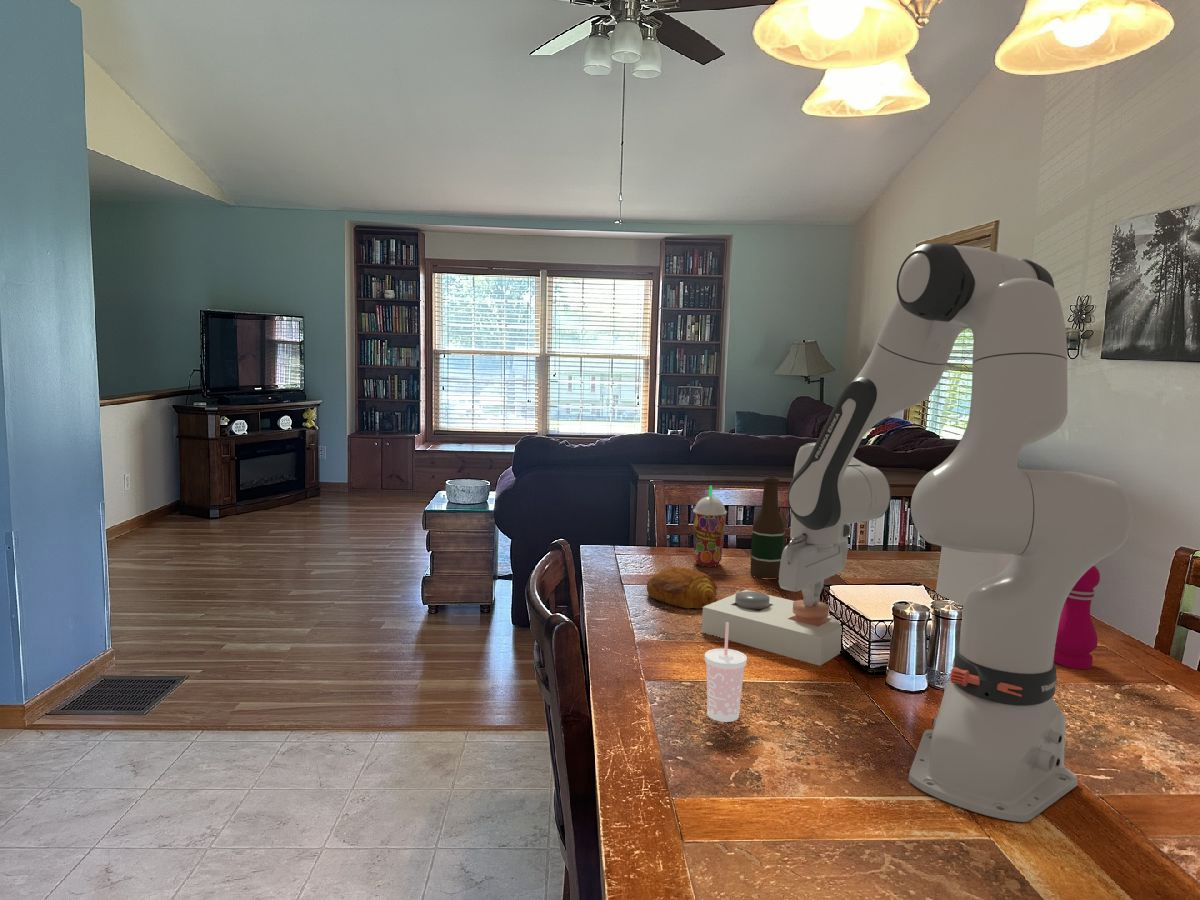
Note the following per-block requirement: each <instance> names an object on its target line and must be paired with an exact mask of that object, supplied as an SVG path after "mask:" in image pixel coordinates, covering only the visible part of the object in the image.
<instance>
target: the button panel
mask: <svg viewBox="0 0 1200 900" xmlns="http://www.w3.org/2000/svg"><path fill="white" fill-rule="evenodd" d="M740 592H755V591H753V590H749V589H744V590H742V591H740ZM737 593H738V592H737ZM737 593H734V594H732V595H729V596H727V597H724V598H722V599H718V600H715V602H714V603H711V604H709V605H706V606H704V607H703V609H702V618H701V619H702V621H701V622H702V623H701V633H702V634H705V633H706V634H705V635H708V636H712V635H714V636H713V637H716V636H717V637H716V638H719V637H720V638H719V639H723V638H724V639H723V640H725V627H726V622H729V633H728V641H730V640H731V642H733V643H738V644H741V645H744V646H748V647H750V648H751V647H752V648H755V649H759V650H762V651H766V652H769V653H773V654H777V655H779V656H783V657H787V658H791V659H794V660H797V661H801V662H805V663H807V664H808V663H809V664H811V665H815V666H819V667H821V666H822V665H824V664H826V663H827V662H829V661H831V660H832V659H833V658H835V657H837V656H838V655H841V653H840V651H841V635H842V626H841V625H840V624H839V623H837V622H836V621H835V620H834V619H833V618H831V616H828V617H826V618H824V624H822V625H820V626H819V627H817V626H814V625H810V624H806V623H802V622H798V621H796V615H795V614H794V613H793V612H792V611H793V602H794V601H795V600H793V599H792V600H791V599H787V598H783V597H779V596H775V595H770V594H767V595H768V596H769V597H770V599H769V607H767V608H765V609H763V610H761V611H754V610H750V609H746V608H742V607H739V606H738V605H736V604H735V597H736V594H737Z"/></svg>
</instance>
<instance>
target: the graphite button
mask: <svg viewBox="0 0 1200 900" xmlns="http://www.w3.org/2000/svg"><path fill="white" fill-rule="evenodd" d="M735 594H736V593H735ZM768 595H769V594H767V593H762V592H758V591H754V592H741V591H739V592H737V594H736V597H735V604H736V605H738V606H739V607H742V608H746V609H750V610H754V611H761V610H763V609H765V608H767V607H769V599H770V597H769V596H768Z"/></svg>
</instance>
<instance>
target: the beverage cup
mask: <svg viewBox="0 0 1200 900" xmlns="http://www.w3.org/2000/svg"><path fill="white" fill-rule="evenodd" d="M728 633H729V622H726V627H725V639H724V648H714V649H709V650H708V651H706V652H705V653H704V662H705V663H706V706H707V707H706V709H707V712H706V713H707V716H708V717H709V718H710V719H712V720H714V721H717V722H724V723H728V722H730V723H731V722H734V721H737V720H738V719H739V716H740V710H741V709H740V708H741V700H742V699H741V698H742V692H743V691H742V690H743V682H744V672H745V666H747V661H748V658H747V657H748V656H747V655H746V654H745V653H743V652H741V651H739V650H736V649H731V648H729V640H728Z"/></svg>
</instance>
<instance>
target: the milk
mask: <svg viewBox="0 0 1200 900" xmlns="http://www.w3.org/2000/svg"><path fill="white" fill-rule="evenodd" d="M940 549H941V550H940V555H939V556H940V559H939V563H938V564H939V566H938V572H937V580H936V587H935V594H936V593H937V594H939V595H941V596H943V597H945V598H947V599H949V600H951V601H954V602H956V603H959V604H962V605H963V601H964V598H965V596H966V595H967V593H968V592H969V591H970V590H971V588H973V587H974V586H975V585H976V584H978V583H979V582H981V581H984V580H986V579H989V578H991V577H994V576H996V575H998V574H1000V573H1001V572H1002V571H1003V570H1005V569H1006V568H1007V567H1008V565H1009V564H1010V563H1011V561H1012V559H1013V557H1014V555H1011V554H995V553H978V552H963V551H959V550H955V549H950V548H946V547H942V546H941V548H940Z"/></svg>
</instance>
